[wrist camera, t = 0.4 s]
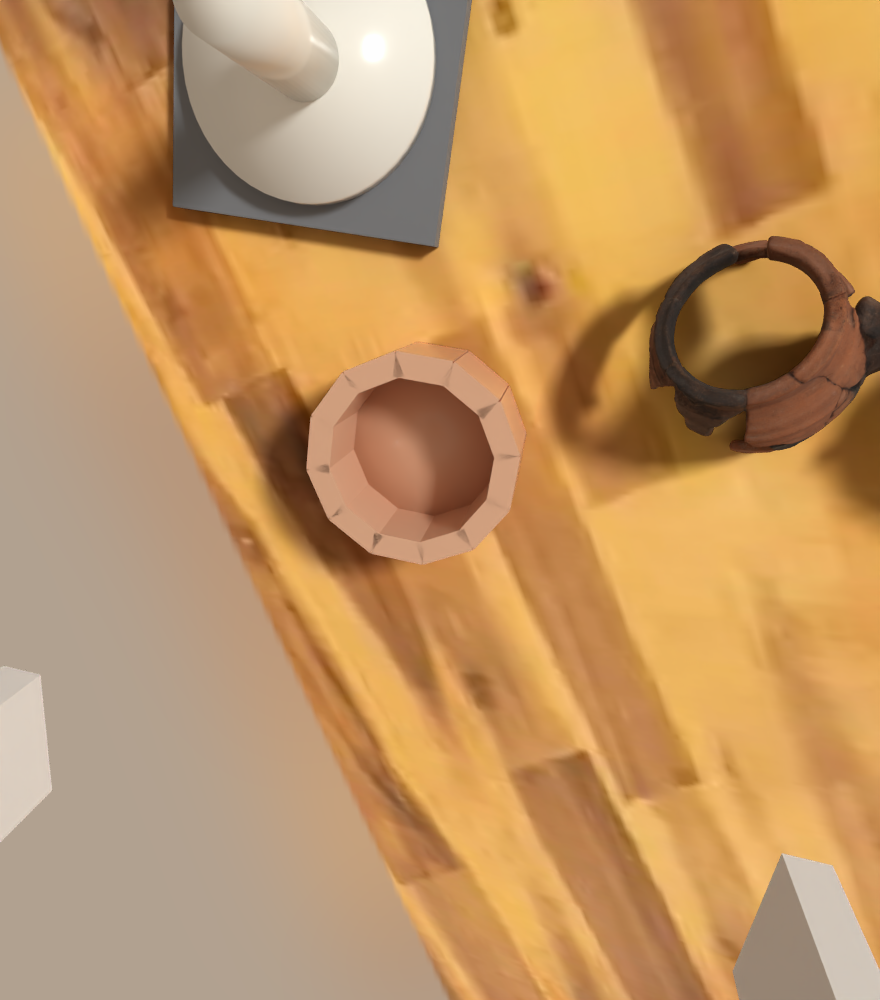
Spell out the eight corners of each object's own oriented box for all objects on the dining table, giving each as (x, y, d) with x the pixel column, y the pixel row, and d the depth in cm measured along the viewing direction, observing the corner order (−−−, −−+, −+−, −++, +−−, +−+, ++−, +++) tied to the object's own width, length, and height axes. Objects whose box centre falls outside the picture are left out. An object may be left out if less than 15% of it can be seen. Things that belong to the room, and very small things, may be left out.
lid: (195, -103, 29) (47, -257, 21) (455, -79, 28) (408, -234, 20) (191, 188, 33) (65, 156, 25) (417, 221, 32) (365, 200, 24)
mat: (187, -120, 30) (175, -132, 29) (484, -94, 28) (481, -106, 28) (183, 208, 35) (172, 206, 34) (438, 247, 33) (434, 246, 32)
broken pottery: (679, 475, 35) (645, 449, 28) (660, 310, 37) (624, 245, 29) (958, 438, 29) (1004, 393, 22) (923, 244, 31) (956, 142, 24)
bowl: (349, 330, 35) (317, 337, 31) (540, 362, 34) (536, 375, 29) (332, 507, 39) (300, 538, 34) (504, 543, 38) (495, 580, 33)
